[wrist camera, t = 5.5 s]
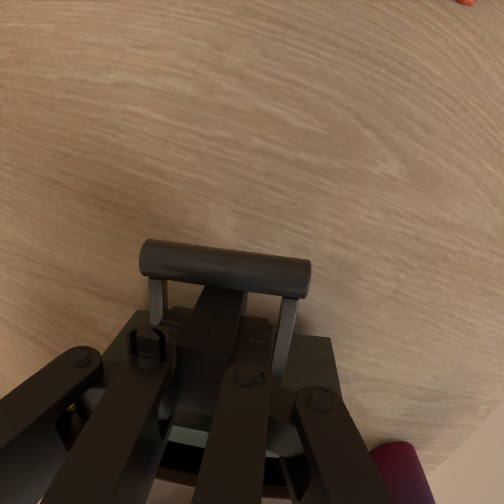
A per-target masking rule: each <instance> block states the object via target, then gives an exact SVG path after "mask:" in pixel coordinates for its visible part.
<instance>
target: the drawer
mask: <svg viewBox="0 0 504 504" xmlns="http://www.w3.org/2000/svg"><path fill="white" fill-rule="evenodd" d="M139 268H140V272H141V274H142V275H143V276H147V277H149V279H148V281H149V309H150V312H148V311H142V310H136V312H135V313H134V314H133V315H132V317H131V318H130V319H129V321H128V322H127V323H126V324H125V326H124V327H123V328H122V330H121V331H120V332H119V334H118V335H117V336H116V338H115V339H114V340H113V341H112V343H111V344H110V345H109V347H108V348H107V349H106V351H105V352H104V353H103V355H102V356H101V358H102V360H125V359H126V358H127V356H128V349H127V341H126V333H125V332H127V331H128V330H129V329H130V328H132V327H134V326H137V325H143V324H152V325H158V324H159V322H160V321H161V319H162V317H163V316H164V314H165V312H167V311H168V290H167V280H171V281H178V282H184V283H191V284H197V285H204V286H211V287H218V288H225V289H232V290H239V291H246V292H253V293H261V294H269V295H276V296H282V299H281V305H280V311H279V317H278V323H277V328H276V332H274V331H272V345H271V361H270V374H271V376H272V378H273V379H274V380H275V382H276V383H278V384H279V385H281V386H282V387H284V388H287V389H289V390H292V391H295V392H298V391H299V390H300V389H302V388H303V387H306V386H310V385H321V386H325V387H328V388H330V389H332V390H334V391H335V392H337V393H338V395H339V396H340V397H341V398H342V394H341V389H340V384H339V378H338V373H337V368H336V363H335V358H334V353H333V348H332V343H331V339H330V338H328V337H318V336H308V335H299V334H293V329H294V324H295V319H296V314H297V309H298V304H299V298H300V299H305V298H306V296H307V294H308V290H309V286H310V279H311V261H310V260H306V259H299V258H291V257H284V256H276V255H268V254H261V253H253V252H245V251H238V250H230V249H223V248H215V247H207V246H200V245H192V244H184V243H177V242H169V241H162V240H154V239H147V240H146V241H145V242H144V244H143V246H142V248H141V252H140V257H139ZM174 411H175V422H174V425H173V428H172V430H171V433H170V436H169V439H168V442H167V444H166V447H165V450H164V453H163V456H162V459H161V462H160V464H159V466H161V467H165V468H169V469H173V470H177V471H182V472H186V473H191V474H196V475H198V474H199V470H200V466H201V462H202V458H203V454H204V450H205V446H206V442H207V438H208V434H209V430H210V426H211V422H212V418H213V416H210V415H204V414H199V413H193V412H188V411H183V410H179V405H178V402H177V404H176V407H175V410H174ZM263 484H266V485H278V486H287V484H286V480H285V477H284V473H283V469H282V466H281V462H280V458H279V455H278V454H275V453H272V452H269V451H267V450H266V455H265V467H264V479H263Z"/></svg>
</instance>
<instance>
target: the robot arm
mask: <svg viewBox="0 0 504 504" xmlns="http://www.w3.org/2000/svg"><path fill="white" fill-rule="evenodd" d="M247 295H248V292H246V291H239V290H232V289H225V288H218V287H211V286H205V287H204V289H203V291H202V293H201V295H200V297H199V299H198V301H197V303H196V305H195V307H194V309H189V308H182V307H176V306H175V307H173V308H171V309H170V310H168V311H167V312H165V314H164V316H163V317H162V319H161V321H160V322H159V324H158V325H152V324H143V325H137V326H134V327H132V328H130V329H129V330H128V331H127V332H125V333H126V341H127V349H128V356H127V358H126V359H125V360H102V358H101V355H100V353H99V352H98V351H97V350H96V349H94V348H92V347H88V346H77V347H73V348H71V349H69V350H67V351H65V352H64V353H62V354H61V355H60V356H58V357H57V358H55V359H54V360H53V361H51V362H50V363H49V364H47V365H46V366H45V367H43V368H42V369H40V370H39V371H38V372H36V373H35V374H34V375H32V376H31V377H30V378H28V379H27V380H26V381H24V382H23V383H22V384H20V385H19V386H18V387H16V388H15V389H14V390H12V391H11V392H10V393H8V394H7V395H6V396H4V397H3V398H2V399H0V504H37V503H38V502H39V501H40V500H41V499H42V497H43V496H44V497H43V499H42V501H41V502H40V504H146V502H147V499H148V496H149V493H150V490H151V487H152V485H153V482H154V479H155V476H156V473H157V470H158V467H159V464H160V462H161V459H162V456H163V453H164V450H165V447H166V444H167V442H168V439H169V436H170V433H171V430H172V428H173V425H174V422H175V411H174V410H175V407H176V404H177V402H178V405H179V410H183V411H188V412H193V413H199V414H204V415H210V416H213V418H212V422H211V426H210V430H209V434H208V438H207V442H206V446H205V450H204V454H203V458H202V462H201V466H200V470H199V474H198V478H197V482H196V486H195V490H194V494H193V497H192V501H191V504H261V501H262V490H263V479H264V467H265V455H266V450H267V451H269V452H272V453H275V454H278V455H279V458H280V462H281V466H282V469H283V473H284V477H285V480H286V484H287V487H288V491H289V494H290V498H291V502H292V504H395V503H394V501H393V499H392V497H391V495H390V493H389V491H388V489H387V487H386V485H385V483H384V481H383V479H382V477H381V475H380V473H379V471H378V469H377V467H376V465H375V463H374V461H373V459H372V457H371V455H370V453H369V451H368V449H367V447H366V445H365V443H364V441H363V439H362V437H361V435H360V434H359V432H358V430H357V428H356V426H355V424H354V422H353V420H352V418H351V416H350V414H349V412H348V410H347V408H346V406H345V404H344V402H343V400H342V398H341V397H340V396H339V395H338V393H337V392H335V391H334V390H332V389H330V388H328V387H325V386H321V385H310V386H306V387H303V388H302V389H300V390H299V391H298V392H295V391H292V390H289V389H287V388H284V387H282V386H281V385H279V384H278V383H276V382H275V380H274V379H273V378H272V376H271V374H270V361H271V345H272V328H273V327H272V325H271V324H270V322H269V320H268V319H266V318H258V317H250V316H245V314H246V305H247ZM72 404H73V406H72V407H70V406H71V405H72ZM69 407H70V408H69ZM68 408H69V409H68Z"/></svg>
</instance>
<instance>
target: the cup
mask: <svg viewBox="0 0 504 504" xmlns="http://www.w3.org/2000/svg"><path fill="white" fill-rule="evenodd" d="M370 455H371V457H372V459H373V461H374V463H375V465H376V467H377V469H378V471H379V473H380V475H381V477H382V479H383V481H384V483H385V485H386V487H387V489H388V491H389V493H390V495H391V497H392V499H393V501H394V503H395V504H435V500H434V498H433V495H432V492H431V490H430V487H429V484H428V482H427V479H426V477H425V474H424V471H423V469H422V466H421V464H420V461H419V459H418V456H417V454H416V451H415V449H414V447H413V446H412V445H411V444H409V443H405V442H397V443H391V444H388V445H385V446H382V447H380V448H377V449H375V450H374V451H372V452H371V453H370Z"/></svg>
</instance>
